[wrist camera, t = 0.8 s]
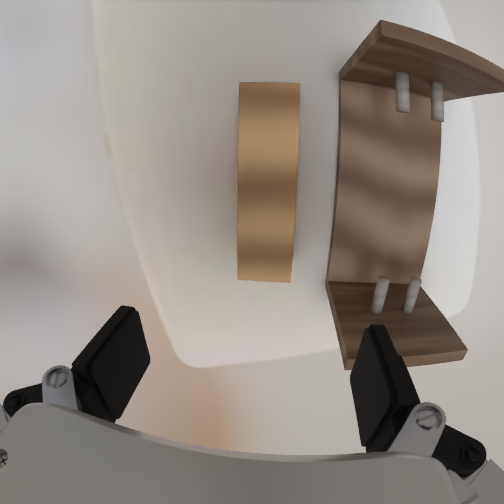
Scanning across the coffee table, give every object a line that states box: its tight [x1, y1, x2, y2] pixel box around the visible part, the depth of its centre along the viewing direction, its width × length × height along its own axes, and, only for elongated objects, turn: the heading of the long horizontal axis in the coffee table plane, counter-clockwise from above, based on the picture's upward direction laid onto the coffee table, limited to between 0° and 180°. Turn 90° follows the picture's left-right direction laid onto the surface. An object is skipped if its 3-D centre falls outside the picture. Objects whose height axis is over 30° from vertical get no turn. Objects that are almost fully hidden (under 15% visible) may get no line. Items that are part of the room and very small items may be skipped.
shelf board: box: [238, 82, 300, 283], centre depth 26 cm, size 18×5×6 cm, turn 179°
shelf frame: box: [325, 20, 504, 370], centre depth 21 cm, size 24×12×14 cm, turn 179°
